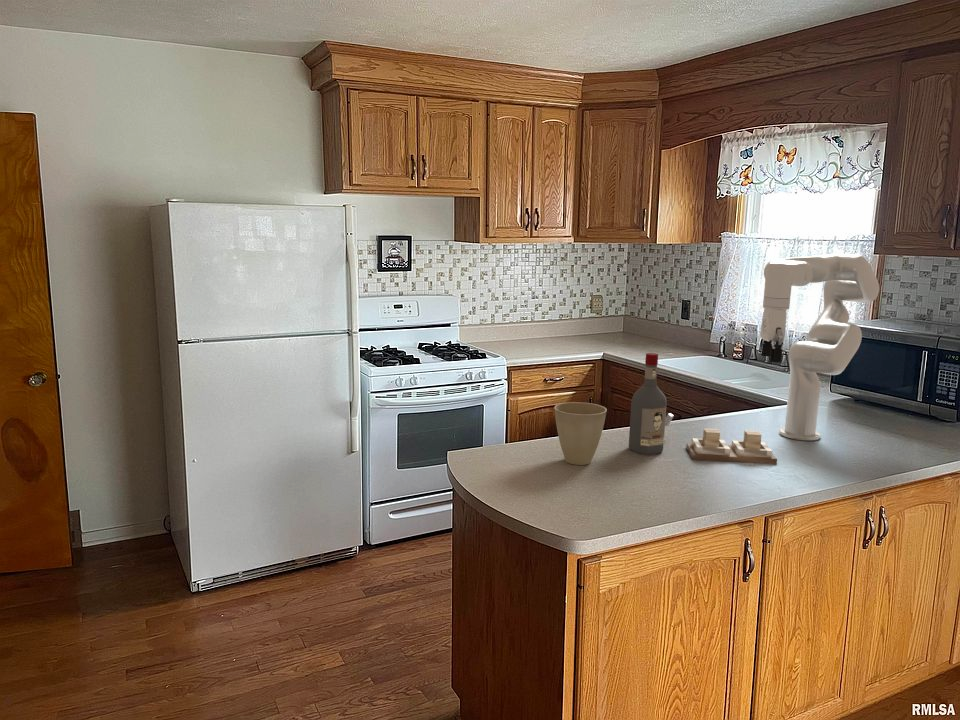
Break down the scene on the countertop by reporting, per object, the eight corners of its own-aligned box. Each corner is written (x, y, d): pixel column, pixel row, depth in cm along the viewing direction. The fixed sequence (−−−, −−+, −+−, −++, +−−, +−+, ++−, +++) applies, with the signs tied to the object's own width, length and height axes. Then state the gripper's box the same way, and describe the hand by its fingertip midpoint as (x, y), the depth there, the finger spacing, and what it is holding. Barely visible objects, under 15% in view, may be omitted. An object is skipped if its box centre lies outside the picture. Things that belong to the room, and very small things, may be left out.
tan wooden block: (702, 447, 230) (703, 428, 229) (715, 448, 230) (717, 429, 229) (704, 451, 227) (706, 432, 225) (718, 452, 226) (720, 432, 225)
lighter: (651, 433, 249) (652, 410, 248) (654, 432, 251) (655, 409, 249) (669, 438, 244) (671, 414, 243) (672, 437, 245) (674, 413, 244)
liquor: (624, 447, 233) (630, 352, 228) (647, 444, 238) (654, 350, 232) (643, 456, 225) (650, 357, 220) (667, 452, 230) (674, 355, 224)
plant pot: (612, 459, 222) (615, 407, 219) (589, 473, 210) (592, 417, 207) (567, 450, 230) (569, 399, 227) (542, 462, 218) (545, 408, 215)
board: (686, 447, 235) (688, 424, 234) (765, 451, 233) (768, 428, 231) (693, 459, 223) (694, 435, 222) (776, 464, 221) (779, 439, 220)
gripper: (756, 299, 237) (751, 353, 240) (771, 306, 220) (765, 364, 223) (781, 300, 236) (775, 354, 239) (798, 307, 219) (792, 365, 222)
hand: (771, 359), depth 231 cm, fingers open, 9 cm apart
